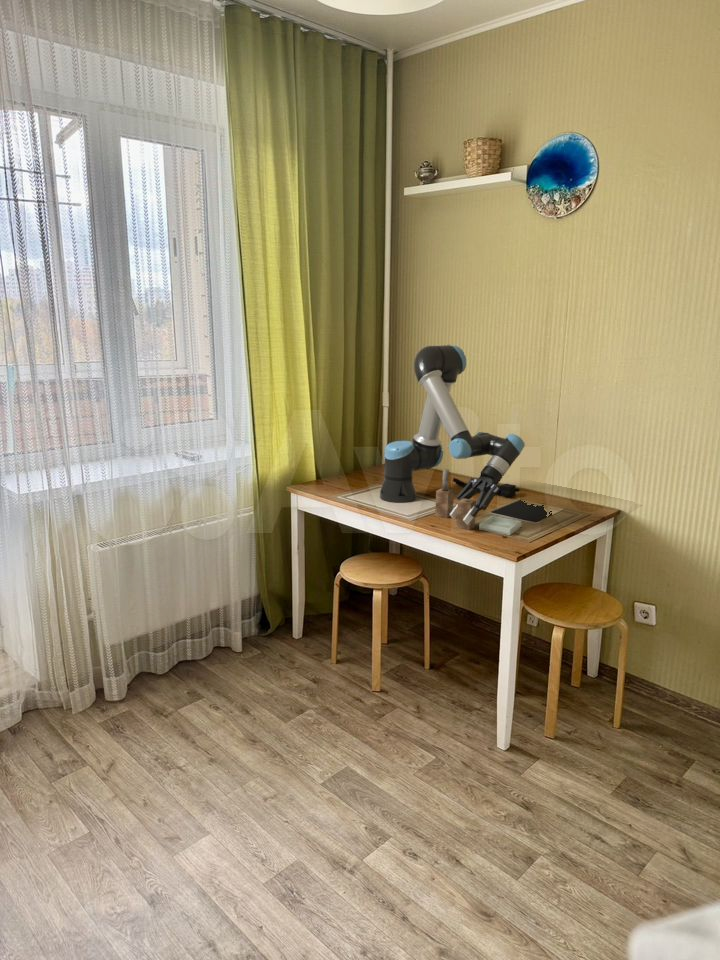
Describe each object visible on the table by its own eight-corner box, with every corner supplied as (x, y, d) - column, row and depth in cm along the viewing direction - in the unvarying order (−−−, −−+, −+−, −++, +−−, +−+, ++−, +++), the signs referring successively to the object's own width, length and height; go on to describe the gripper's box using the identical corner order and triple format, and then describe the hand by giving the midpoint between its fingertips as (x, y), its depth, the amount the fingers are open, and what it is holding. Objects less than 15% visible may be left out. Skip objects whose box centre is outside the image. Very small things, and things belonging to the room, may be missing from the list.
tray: (479, 529, 251) (479, 523, 250) (491, 521, 260) (491, 515, 260) (509, 535, 245) (510, 529, 244) (520, 527, 254) (521, 520, 254)
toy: (448, 489, 311) (508, 499, 291) (448, 479, 310) (508, 488, 290) (460, 485, 317) (519, 495, 298) (460, 475, 316) (519, 484, 297)
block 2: (456, 527, 253) (457, 501, 250) (462, 524, 257) (463, 498, 254) (469, 530, 250) (470, 503, 248) (474, 526, 254) (476, 500, 252)
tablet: (536, 522, 259) (489, 512, 271) (535, 524, 259) (488, 514, 271) (566, 508, 279) (521, 499, 291) (566, 510, 279) (521, 500, 292)
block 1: (435, 515, 267) (437, 470, 262) (440, 512, 271) (442, 467, 266) (447, 518, 264) (449, 472, 260) (452, 514, 268) (454, 469, 264)
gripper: (518, 482, 249) (482, 532, 245) (481, 471, 265) (446, 518, 261) (508, 469, 245) (471, 520, 241) (471, 459, 261) (436, 507, 257)
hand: (458, 519), depth 251 cm, fingers closed on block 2, 7 cm apart
